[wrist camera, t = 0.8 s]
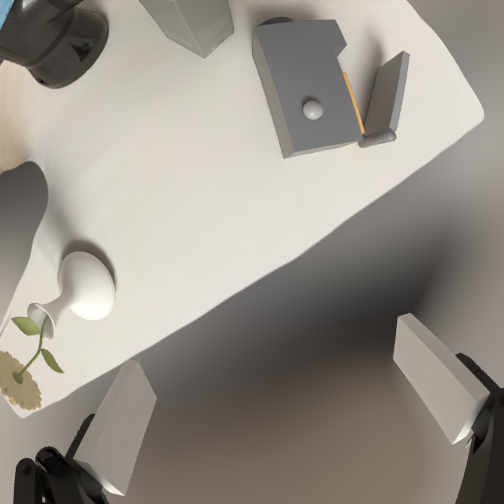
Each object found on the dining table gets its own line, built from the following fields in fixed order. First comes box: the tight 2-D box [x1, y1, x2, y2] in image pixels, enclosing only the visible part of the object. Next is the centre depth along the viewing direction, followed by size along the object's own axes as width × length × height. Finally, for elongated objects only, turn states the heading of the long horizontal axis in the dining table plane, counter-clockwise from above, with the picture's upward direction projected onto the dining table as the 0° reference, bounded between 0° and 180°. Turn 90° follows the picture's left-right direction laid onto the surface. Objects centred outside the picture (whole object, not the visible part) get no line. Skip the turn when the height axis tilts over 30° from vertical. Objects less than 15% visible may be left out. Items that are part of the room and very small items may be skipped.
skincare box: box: [139, 0, 234, 58], centre depth 21 cm, size 8×7×16 cm
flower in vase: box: [0, 251, 116, 411], centre depth 26 cm, size 13×11×25 cm
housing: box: [252, 17, 396, 159], centre depth 27 cm, size 18×12×9 cm, turn 15°
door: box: [362, 51, 410, 138], centre depth 27 cm, size 12×2×8 cm, turn 163°
